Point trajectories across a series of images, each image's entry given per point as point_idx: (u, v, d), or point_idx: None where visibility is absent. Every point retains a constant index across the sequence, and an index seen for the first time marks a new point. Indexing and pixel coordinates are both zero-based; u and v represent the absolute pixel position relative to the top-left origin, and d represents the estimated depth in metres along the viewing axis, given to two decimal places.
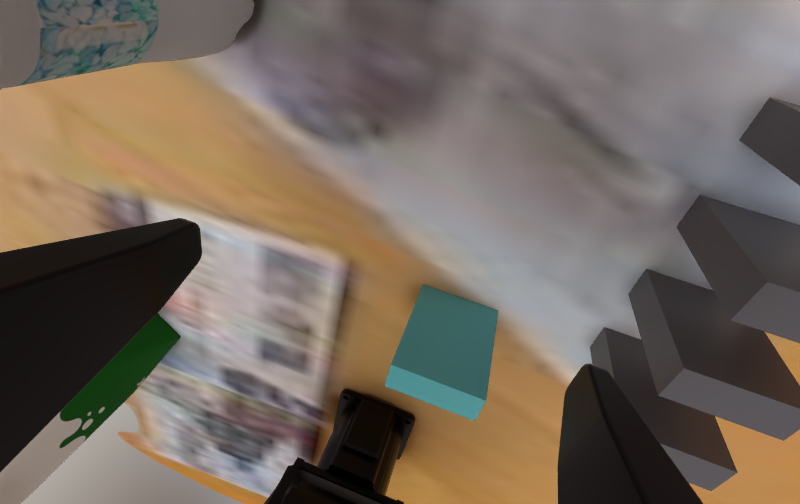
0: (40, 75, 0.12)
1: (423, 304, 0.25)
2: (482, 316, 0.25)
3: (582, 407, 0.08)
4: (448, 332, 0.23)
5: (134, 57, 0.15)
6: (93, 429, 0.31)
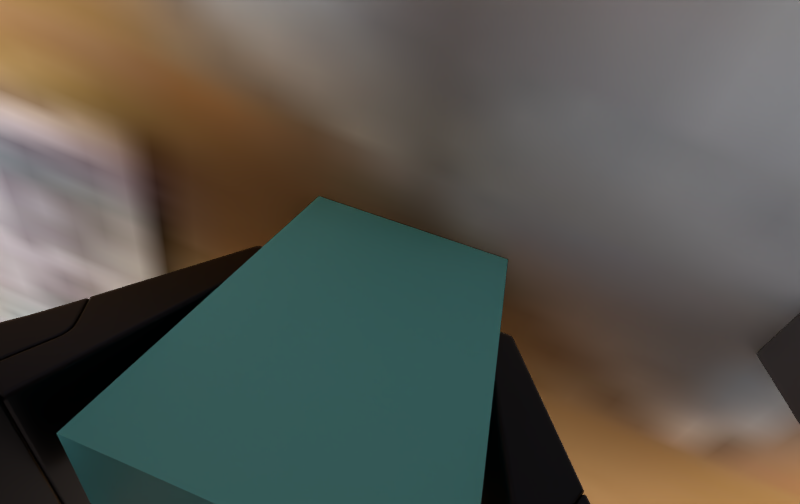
0: None
1: (302, 235, 0.09)
2: (466, 270, 0.09)
3: None
4: (356, 309, 0.07)
5: None
6: None
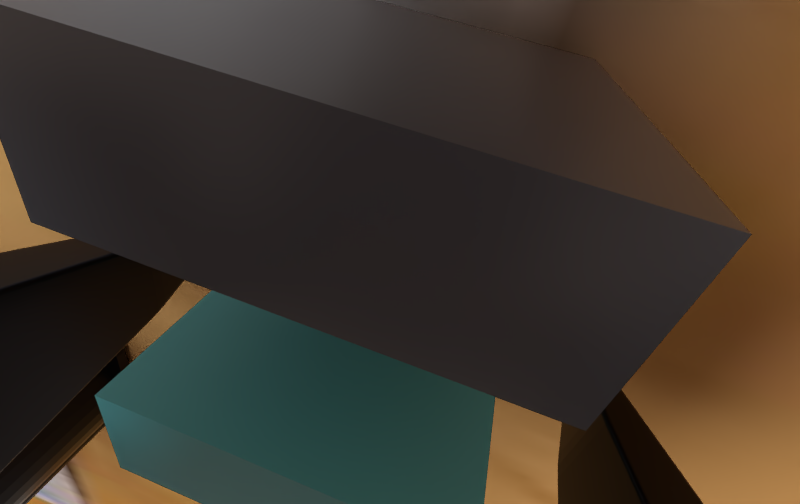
0: None
1: None
2: None
3: None
4: None
5: None
6: None
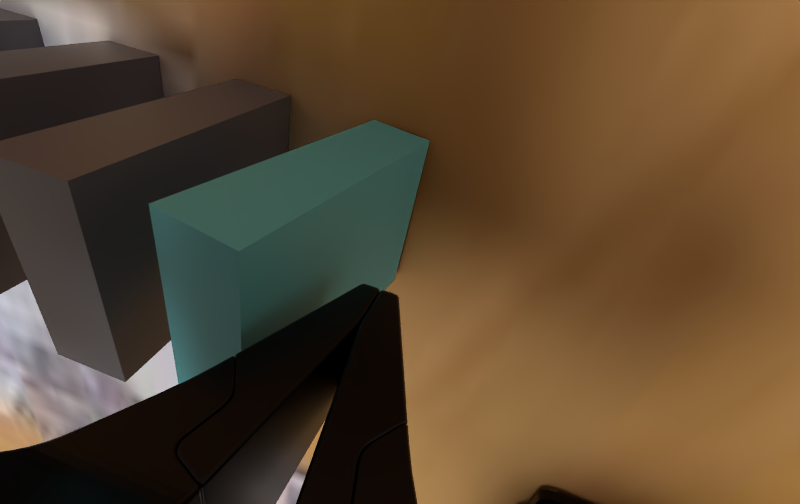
0: None
1: None
2: None
3: None
4: None
5: None
6: None
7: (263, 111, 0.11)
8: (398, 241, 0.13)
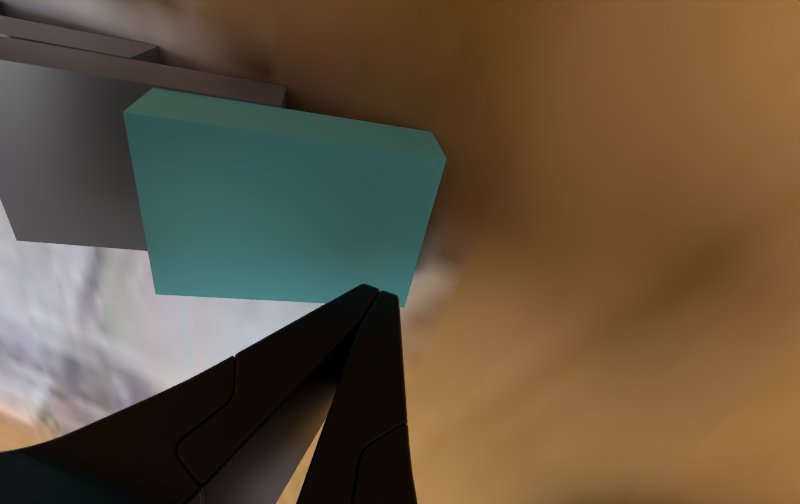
0: None
1: None
2: None
3: None
4: None
5: None
6: None
7: None
8: (398, 257, 0.12)
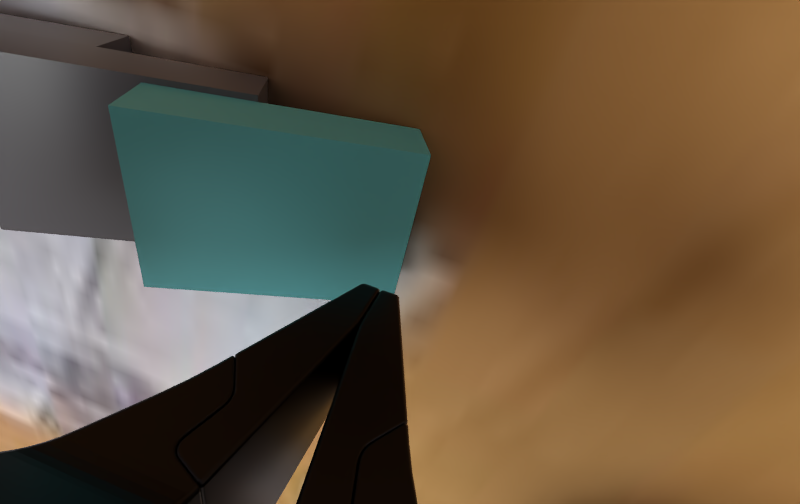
0: None
1: None
2: None
3: None
4: None
5: None
6: None
7: (197, 91, 0.10)
8: (385, 254, 0.12)
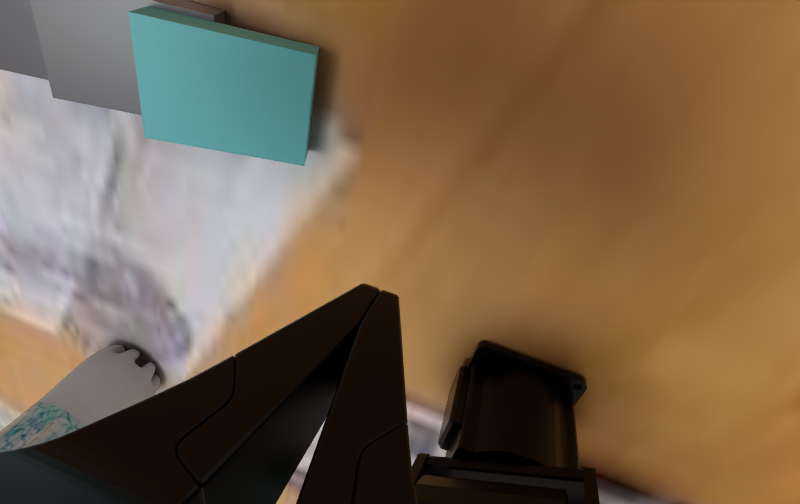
0: None
1: None
2: None
3: None
4: None
5: None
6: None
7: (177, 11, 0.17)
8: (296, 125, 0.18)
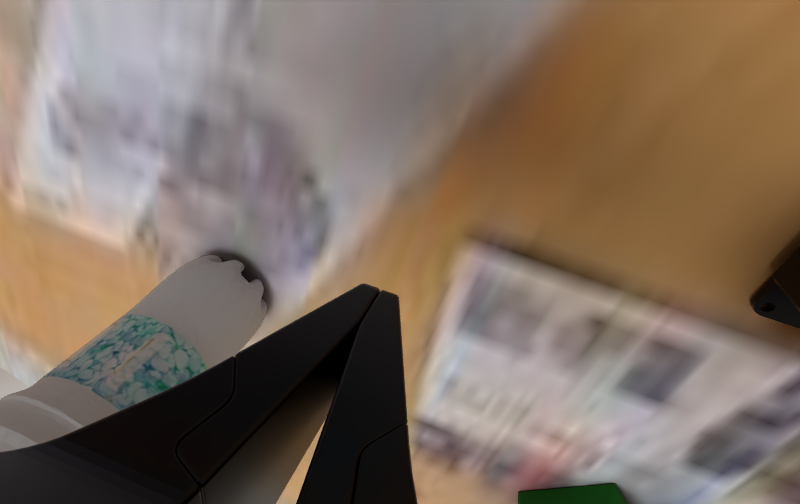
0: None
1: None
2: None
3: None
4: None
5: (185, 351, 0.21)
6: None
7: None
8: None
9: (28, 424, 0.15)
